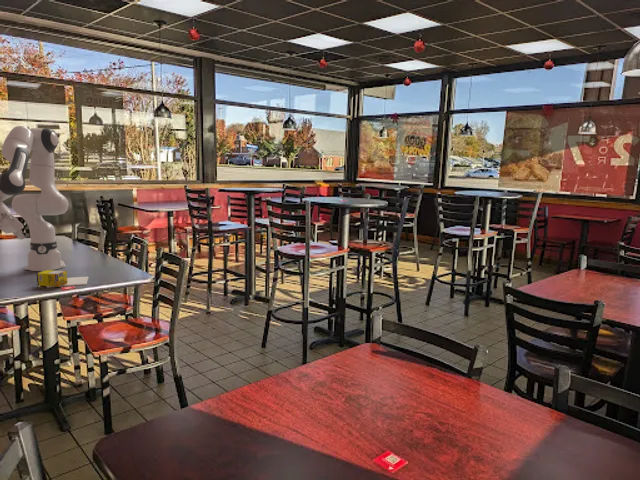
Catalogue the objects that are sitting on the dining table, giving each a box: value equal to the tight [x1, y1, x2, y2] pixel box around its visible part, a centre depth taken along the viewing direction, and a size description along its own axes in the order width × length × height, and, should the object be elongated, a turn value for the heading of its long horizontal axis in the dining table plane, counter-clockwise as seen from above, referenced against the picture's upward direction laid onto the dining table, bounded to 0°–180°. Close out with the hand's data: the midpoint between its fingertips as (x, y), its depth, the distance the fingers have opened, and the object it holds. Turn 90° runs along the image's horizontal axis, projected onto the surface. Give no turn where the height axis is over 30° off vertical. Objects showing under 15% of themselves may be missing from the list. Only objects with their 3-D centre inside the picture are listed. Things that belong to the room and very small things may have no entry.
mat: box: [46, 276, 89, 288], centre depth 221 cm, size 14×16×1 cm
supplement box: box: [35, 270, 68, 288], centre depth 214 cm, size 6×6×11 cm
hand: (23, 238), depth 213 cm, fingers closed
